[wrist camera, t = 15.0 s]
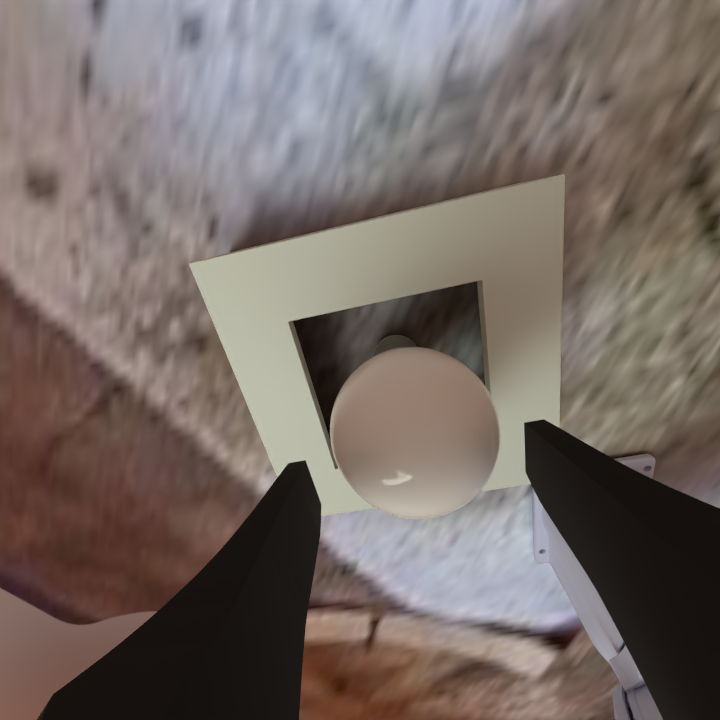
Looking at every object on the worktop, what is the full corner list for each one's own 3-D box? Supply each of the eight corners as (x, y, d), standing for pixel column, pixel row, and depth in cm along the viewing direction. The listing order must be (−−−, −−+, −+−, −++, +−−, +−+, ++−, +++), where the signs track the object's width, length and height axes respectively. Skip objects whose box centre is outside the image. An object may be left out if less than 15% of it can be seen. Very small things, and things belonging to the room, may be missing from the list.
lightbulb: (466, 365, 20) (566, 512, 10) (379, 414, 22) (392, 584, 12) (413, 278, 18) (474, 355, 8) (321, 338, 20) (277, 467, 10)
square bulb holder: (522, 430, 22) (558, 479, 18) (307, 467, 24) (295, 520, 20) (514, 183, 16) (564, 173, 12) (229, 252, 18) (188, 263, 14)
